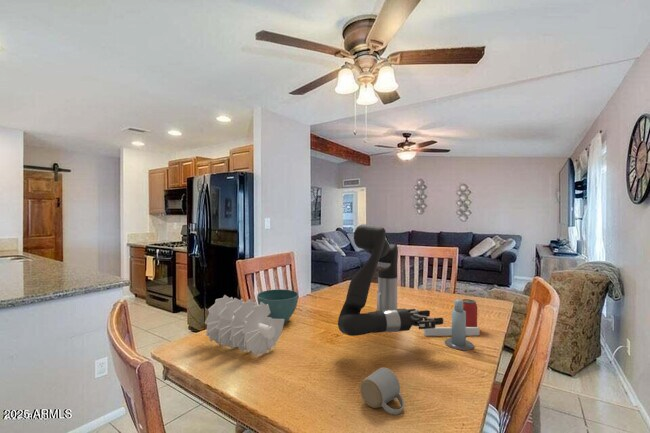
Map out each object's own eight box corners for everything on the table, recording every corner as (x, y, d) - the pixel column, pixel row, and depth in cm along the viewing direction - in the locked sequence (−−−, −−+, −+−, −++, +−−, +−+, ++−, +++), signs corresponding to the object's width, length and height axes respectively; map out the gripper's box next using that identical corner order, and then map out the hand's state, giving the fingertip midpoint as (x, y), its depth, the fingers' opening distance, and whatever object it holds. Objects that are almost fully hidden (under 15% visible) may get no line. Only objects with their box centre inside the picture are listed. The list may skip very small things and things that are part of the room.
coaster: (451, 350, 115) (451, 349, 115) (440, 339, 125) (440, 338, 125) (479, 350, 115) (479, 349, 115) (466, 339, 125) (466, 337, 125)
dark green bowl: (304, 317, 151) (304, 291, 150) (287, 331, 134) (287, 301, 133) (269, 313, 157) (269, 288, 156) (249, 325, 140) (249, 297, 139)
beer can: (479, 332, 132) (479, 303, 131) (461, 331, 133) (462, 302, 133) (474, 327, 138) (475, 299, 138) (458, 326, 139) (458, 298, 139)
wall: (424, 335, 128) (424, 328, 128) (423, 334, 129) (423, 327, 129) (479, 335, 129) (479, 327, 129) (478, 334, 130) (478, 326, 130)
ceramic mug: (357, 402, 84) (358, 373, 84) (376, 390, 90) (377, 362, 89) (392, 422, 76) (393, 390, 76) (410, 407, 82) (411, 377, 82)
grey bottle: (455, 346, 118) (455, 302, 117) (449, 340, 122) (449, 298, 122) (468, 346, 118) (468, 302, 118) (462, 340, 123) (462, 298, 122)
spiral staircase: (261, 372, 107) (209, 352, 120) (290, 334, 121) (241, 319, 133) (246, 331, 100) (192, 314, 112) (279, 295, 113) (227, 283, 126)
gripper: (404, 316, 107) (447, 312, 111) (386, 304, 120) (425, 301, 124) (404, 338, 107) (447, 334, 111) (386, 324, 121) (425, 320, 125)
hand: (435, 316), depth 118 cm, fingers open, 8 cm apart
